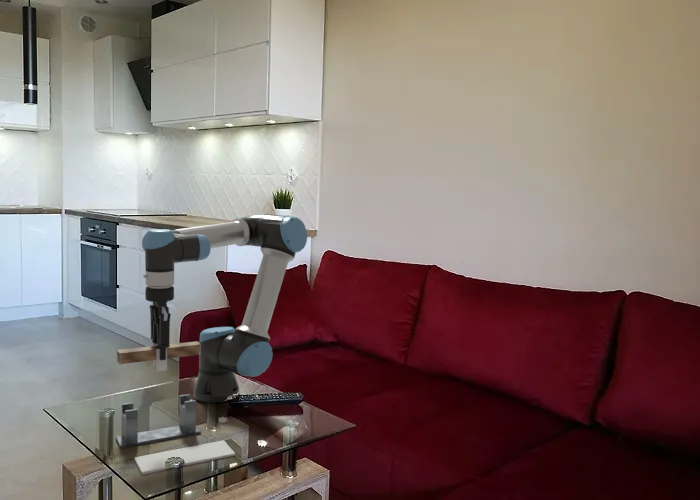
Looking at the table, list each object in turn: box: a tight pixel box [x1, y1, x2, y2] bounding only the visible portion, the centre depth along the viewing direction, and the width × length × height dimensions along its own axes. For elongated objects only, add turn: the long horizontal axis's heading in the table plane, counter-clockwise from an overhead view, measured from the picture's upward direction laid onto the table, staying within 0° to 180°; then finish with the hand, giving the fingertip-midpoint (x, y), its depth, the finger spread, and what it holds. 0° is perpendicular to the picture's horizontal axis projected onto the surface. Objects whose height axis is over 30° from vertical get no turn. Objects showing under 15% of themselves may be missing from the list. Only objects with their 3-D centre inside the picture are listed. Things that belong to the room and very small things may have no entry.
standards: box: [115, 393, 202, 449], centre depth 171 cm, size 22×6×10 cm, turn 121°
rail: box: [116, 340, 201, 366], centre depth 169 cm, size 22×4×3 cm, turn 121°
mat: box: [134, 439, 236, 475], centre depth 160 cm, size 24×9×1 cm, turn 121°
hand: (159, 368), depth 170 cm, fingers closed on rail, 3 cm apart
